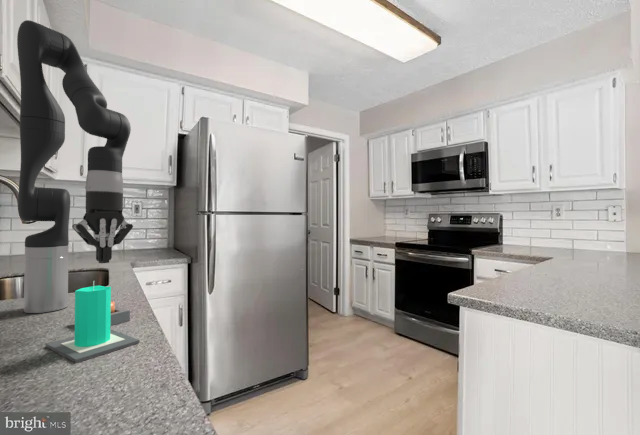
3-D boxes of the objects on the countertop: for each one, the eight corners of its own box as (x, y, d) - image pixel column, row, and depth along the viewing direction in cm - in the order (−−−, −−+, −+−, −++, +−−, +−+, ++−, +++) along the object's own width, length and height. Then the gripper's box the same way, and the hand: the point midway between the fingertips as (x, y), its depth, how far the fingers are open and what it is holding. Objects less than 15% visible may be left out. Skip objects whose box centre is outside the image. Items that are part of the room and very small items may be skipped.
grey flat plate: (46, 346, 63) (46, 343, 63) (107, 330, 73) (107, 327, 73) (76, 363, 56) (76, 358, 56) (139, 342, 66) (139, 339, 66)
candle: (91, 348, 61) (92, 284, 61) (66, 345, 62) (66, 282, 62) (118, 337, 67) (118, 278, 67) (94, 334, 68) (94, 277, 68)
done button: (89, 316, 78) (89, 304, 78) (109, 312, 82) (109, 300, 82) (98, 319, 75) (98, 306, 75) (118, 315, 79) (118, 302, 79)
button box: (77, 323, 77) (77, 313, 77) (112, 315, 84) (113, 305, 84) (93, 330, 73) (93, 318, 73) (129, 320, 80) (129, 310, 80)
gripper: (80, 187, 71) (79, 267, 71) (140, 192, 82) (139, 261, 82) (65, 189, 75) (64, 264, 75) (125, 193, 86) (124, 259, 86)
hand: (103, 262), depth 78 cm, fingers closed
